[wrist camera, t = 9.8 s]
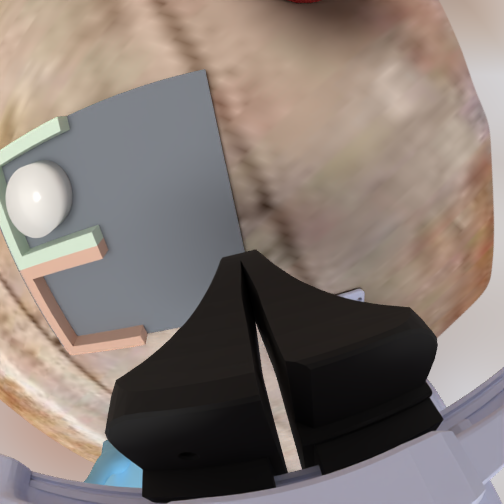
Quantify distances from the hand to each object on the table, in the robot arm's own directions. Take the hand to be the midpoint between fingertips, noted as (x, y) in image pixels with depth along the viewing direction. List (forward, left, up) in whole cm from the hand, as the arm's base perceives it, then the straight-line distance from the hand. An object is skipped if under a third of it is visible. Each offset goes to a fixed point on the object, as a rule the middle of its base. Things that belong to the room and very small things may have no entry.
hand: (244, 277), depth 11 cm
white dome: (+4, +13, -9) cm, 16 cm away
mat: (0, +9, -10) cm, 13 cm away
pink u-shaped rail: (-4, +13, -10) cm, 17 cm away
